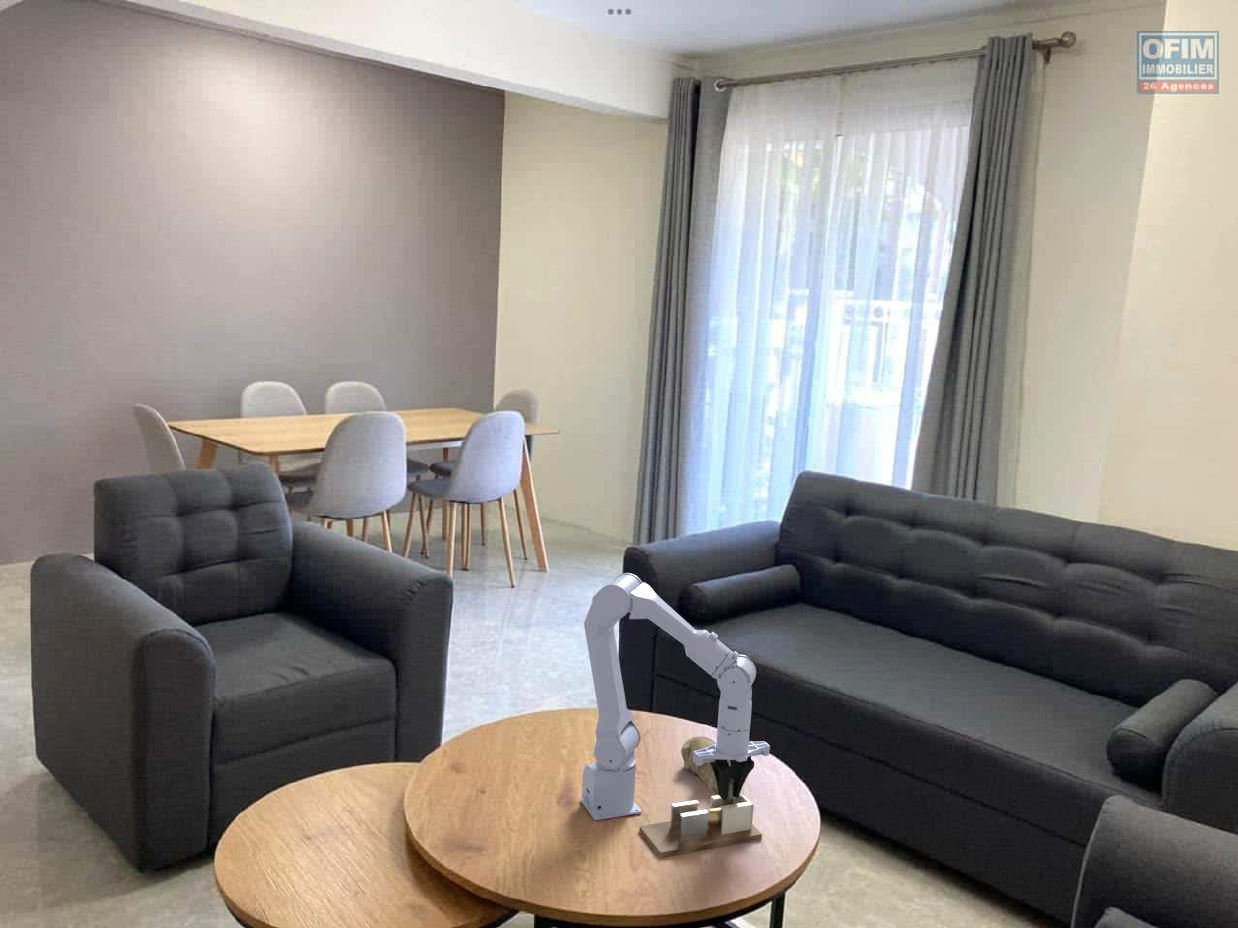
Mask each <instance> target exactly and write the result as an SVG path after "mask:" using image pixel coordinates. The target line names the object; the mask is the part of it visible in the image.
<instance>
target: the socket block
mask: <svg viewBox="0 0 1238 928" xmlns="http://www.w3.org/2000/svg"><path fill="white" fill-rule="evenodd" d="M715 807H721V810H722V811H723V812H722V825H721V834H728V833H734V832H739V831H745V830H750V829H752V824H753V819H754V817H753V816H754V803H753V802H752V801H751V800H749V798H747V797H746V796H745V795H744V794H743V793H742V791H741V792H740V795H739V798H735V797H734V798H733V804H731V805H725V806H723V799H722V798H721V797H720V796H719V795H717V794H715V795H711V796H710V806H709V808H715Z"/></svg>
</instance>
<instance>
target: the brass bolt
mask: <svg viewBox="0 0 1238 928" xmlns="http://www.w3.org/2000/svg"><path fill="white" fill-rule="evenodd" d="M734 784H735V780H734V778H733V777H732V776H731V777H730V781H729V790H728V798H727V800H723V806H725V805H731V804H733V798H734ZM701 810H707V811H708V825H714V824H720V823H722V812H723V811H722V810H721V807H715V808H710V807H709V808H704V809H703V808H702V809H697V811H701ZM691 812H695V811H691ZM686 813H689V812H686Z"/></svg>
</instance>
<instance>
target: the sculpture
mask: <svg viewBox="0 0 1238 928" xmlns="http://www.w3.org/2000/svg"><path fill="white" fill-rule="evenodd" d="M714 744H716V742H715V740H713V739H711V738H709V737H707V736H701V735H699V736H693V737H690V738H689V739H687V740H686V741H685V742H684V743H683V744H682V746H681V749H680V753H681V756H682V757H681V758H682V759H683V767H684V768H685V769H686V770H689V771H690V772H692V773H693V774H695V775H698V776H699V778H700V779H701V780H702V781H704V782H705V783H706V784H707V785H708V786H709V789H710V790H711V791H712V792H713V793H714V794H715V795H719V794H718V787H717V782H716V778H715V775H714V772H713V769H712V767H711V765H710V763H709V762H708V763H703V765H700V766H698V765H697V764H695V763H694V762H693V752H694V751H697V750H701V749H704V748H706V747H709V746H711V745H714ZM727 762H729V766H730V760H727ZM730 767H731V766H730ZM745 782H746V781H745ZM745 782H744V784H745Z"/></svg>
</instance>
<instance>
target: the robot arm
mask: <svg viewBox="0 0 1238 928" xmlns="http://www.w3.org/2000/svg"><path fill="white" fill-rule="evenodd" d="M591 601H592V602H591V604H590V607H589V609H588V612H587V615H586V617H585V620H584V623H583V625H584V626H583V627H584V633H585V638H586V645H587V650H588V657H589V663H590V668H591V674H592V680H593V686H594V692H595V699H596V704H597V705H596V706H597V710H598V720H597V725H596V729H595V738H596V741H595V744H594V749H593V754H594V755H593V756H594V758H595V760H596V761H594V762H592V763H590V764H586V765H585V766H584V767H583V772H582V785H581V786H582V789H581V797H580V799H579V801H580V802H581V804H583V805H582V806H583V807H585V809H586V810H587V812H588V813H589V815H590V816H591V817H592V819H593V820H594V821H600V820H606V819H611V818H612V819H613V818H619V817H625V816H626V817H627V816H631V815H636V814H641V813H642V809H641V808H640V806H639V805H638V803H636V802H635V790H636V789H635V788H636V786H635V785H636V770H637V759H636V755H635V750H636V749H637V748H638V747H639V745H640V744H641V741H642V740H641V739H642V738H641V735H642V734H641V730H640V729H639V727H638V725H637V724H636V723H635V721H634V715H633V713H632V712H631V711H630V710H629V709H628V707H627V703H626V695H625V690H624V684H623V683H624V682H623V678H622V671H621V666H620V658H619V652H618V646H617V640H616V633H615V629H614V628H615V626H616V625H617V623H618V622H619V621H620V620H621V619H622V618H624V617H625V616H626V615H627V614H628V613H630V614H629V618H628V619H629V620H645V619H646V620H649V621H650V622H652V623H653V624H654V625H656V626H658V627H659V628H660V629H662V630H663V631H664V632H666V633H667V634H668V635H670V636H671V637H673V638H674V639H675V640H677V641H678V642H679V643H681V644H682V645H683V646H684V651H685V655H686V657H687V658H689V659H691V661H692V662H693V663H695V664H696V665H697V666H699V667H700V668H701V669H702V670H703V671H705V672H706V673H707V675H708V674H709V676H711V677H712V678H713V679H715V680H716V682H717V687H718V688H719V691H720V698H719V702H718V717H717V728H716V729H717V730H716V742H715V743H716V744H714V745H711V746H709V747H706V748H704V749H701V750H697V751H694V752H693V762H694V763H695V764H697V765H698V766H700V765H703V763H708V762H709V763H710V765H711V767H712V769H713V772H714V775H715V778H716V782H717V787H718V794H719V796H720V797H721V798H722V799H723V800H727V798H728V790H729V781H730V777H731V776H732V777H733V778H734V780H735V784H734V797H735V798H739V795H740V792H741V793H742V789H743V786H744V784H745V783H744V782H746V780H747V778H748V776H749V775H750V773H751V772H752V770H753V769H754V768H755V761H754V760H752V757H755V756H756V757H757V756H760V755H762V757H763V756H764V757H766V756H770V751H771V745H770V744H769V743H768V742H766V741H764V740H763V741H762V740H761V741H750V729H751V718H752V708H753V707H752V705H753V703H752V696H753V695H752V694H753V692H752V691H753V690H752V689H753V687H752V685H753V683H754V681H755V679H756V676H757V668H756V665H755V664H754V662H753V661H752V660H751V659H750V656H747V655H745V654H739V653H738V652H737V651H736V650H734V651H733V650H731V649H730V648H729V647H728V646H726V645H725V644H724V643H723V642H721V641H720V640H719V639H718V638H719V635H718V634H717V633H715V631H712V632H709V631H708V630H706V629H695V628H694V627H693V626H692V625H691V624H690V623H689V622H687V620H685V619H684V618H683V617H682V616H681V615H680V614H679V613H678V612H676V611H675V610H674V609H673V608H672V607H671V606H670V605H669V604H668V603H666V602H665V601H664V600H663V599H662V598H661V597H660V596H659V595H658V594H657V593H656V592H655V590H654V589H653V588H652V587H651V586H650V585H649V584H648V583H646V582H645V581H644V582H643V581H642V579H641V578H640V577H638V575H636V574H633V573H630V572H623V573H621V574H619V575H617V576H616V577H615V578H614V579H613V580H612V581H611V582H609V583H607V584H605V585H604V586H603V587H601V588H600V589H599V591H597V592H596V593H595V594H594V595H593V596H592V598H591ZM727 760H730V766H731V767H730V766H729V762H727Z"/></svg>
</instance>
